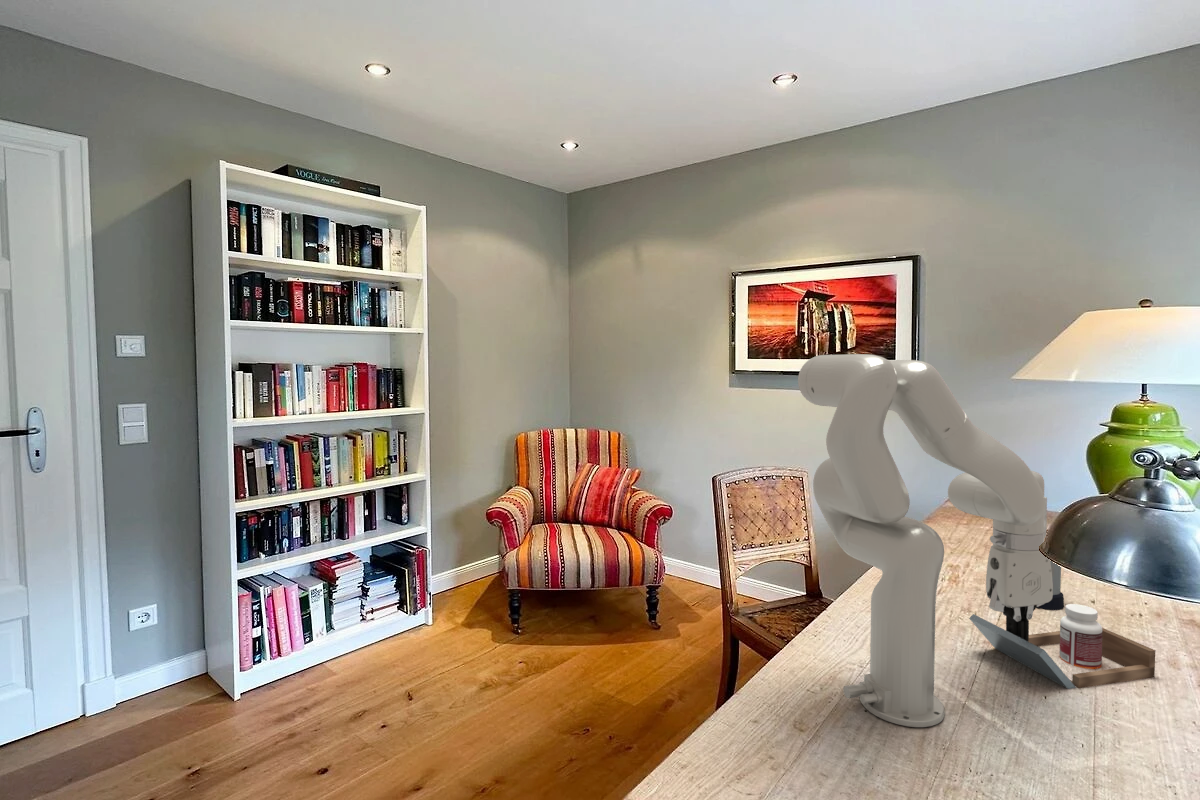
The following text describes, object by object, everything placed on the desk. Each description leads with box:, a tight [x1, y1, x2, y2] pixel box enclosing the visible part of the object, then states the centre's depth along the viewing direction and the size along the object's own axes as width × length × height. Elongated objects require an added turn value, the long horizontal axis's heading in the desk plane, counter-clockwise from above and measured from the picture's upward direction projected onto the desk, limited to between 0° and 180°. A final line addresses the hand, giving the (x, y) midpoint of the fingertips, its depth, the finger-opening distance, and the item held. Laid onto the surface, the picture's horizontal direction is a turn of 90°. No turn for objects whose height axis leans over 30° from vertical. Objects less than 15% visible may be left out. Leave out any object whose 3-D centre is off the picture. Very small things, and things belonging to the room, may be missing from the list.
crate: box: [1028, 627, 1157, 689], centre depth 114 cm, size 16×15×6 cm
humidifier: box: [1036, 496, 1065, 611], centre depth 142 cm, size 8×8×25 cm
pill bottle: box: [1058, 603, 1103, 670], centre depth 114 cm, size 6×6×11 cm
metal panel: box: [969, 613, 1077, 690], centre depth 111 cm, size 1×15×10 cm
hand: (1017, 638), depth 111 cm, fingers closed
